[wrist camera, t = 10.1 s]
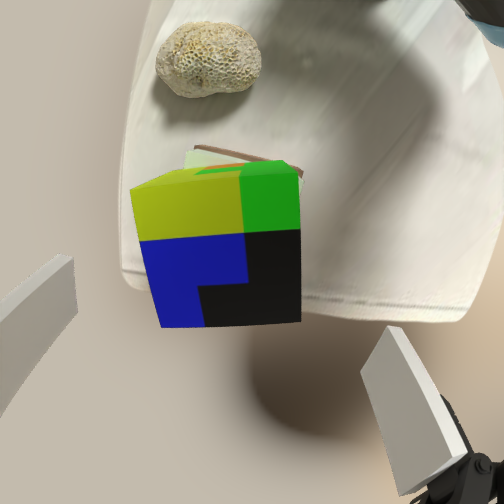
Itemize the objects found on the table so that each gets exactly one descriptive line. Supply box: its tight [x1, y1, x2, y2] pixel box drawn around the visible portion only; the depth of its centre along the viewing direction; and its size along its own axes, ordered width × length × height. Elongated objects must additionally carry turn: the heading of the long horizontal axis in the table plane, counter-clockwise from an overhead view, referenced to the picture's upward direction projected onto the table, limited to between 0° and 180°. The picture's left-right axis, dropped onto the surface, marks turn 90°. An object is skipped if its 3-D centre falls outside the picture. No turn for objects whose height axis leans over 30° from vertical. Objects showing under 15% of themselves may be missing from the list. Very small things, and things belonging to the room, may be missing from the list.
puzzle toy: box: [130, 160, 301, 328], centre depth 22 cm, size 10×10×10 cm
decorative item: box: [155, 22, 262, 98], centre depth 27 cm, size 12×9×10 cm
